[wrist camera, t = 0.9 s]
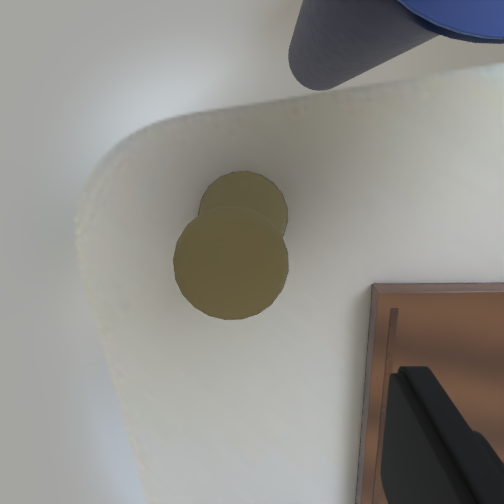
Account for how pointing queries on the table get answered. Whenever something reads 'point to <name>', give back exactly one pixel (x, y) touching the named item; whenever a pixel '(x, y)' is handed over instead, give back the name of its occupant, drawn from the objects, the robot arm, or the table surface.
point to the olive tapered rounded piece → (234, 248)
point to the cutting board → (433, 360)
